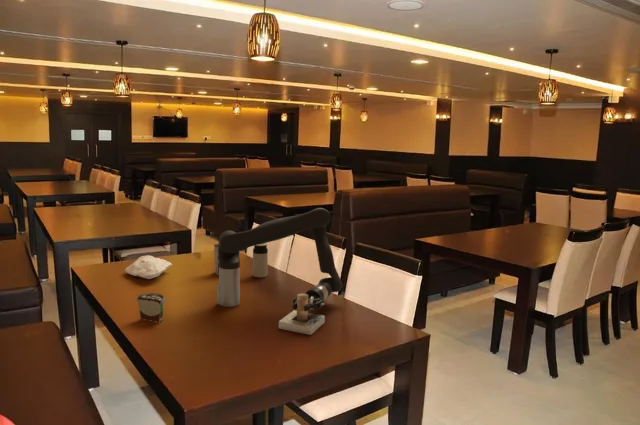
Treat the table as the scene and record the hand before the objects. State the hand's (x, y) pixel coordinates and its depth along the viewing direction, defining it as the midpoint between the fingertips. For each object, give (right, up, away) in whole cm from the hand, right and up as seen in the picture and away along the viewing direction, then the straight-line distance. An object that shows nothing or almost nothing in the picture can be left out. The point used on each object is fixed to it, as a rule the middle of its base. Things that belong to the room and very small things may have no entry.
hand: (299, 307), depth 190 cm
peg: (+1, -7, +4) cm, 8 cm away
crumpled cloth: (-83, +4, +66) cm, 106 cm away
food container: (-60, -6, +6) cm, 60 cm away
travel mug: (-25, +3, +71) cm, 75 cm away
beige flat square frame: (+1, -8, +4) cm, 9 cm away
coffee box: (-45, +4, +74) cm, 87 cm away
